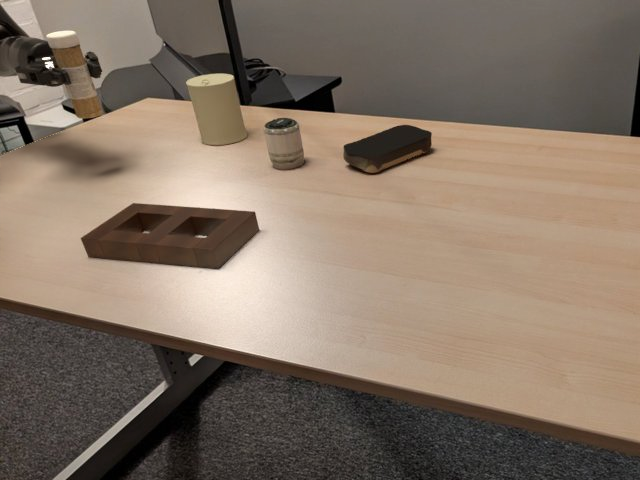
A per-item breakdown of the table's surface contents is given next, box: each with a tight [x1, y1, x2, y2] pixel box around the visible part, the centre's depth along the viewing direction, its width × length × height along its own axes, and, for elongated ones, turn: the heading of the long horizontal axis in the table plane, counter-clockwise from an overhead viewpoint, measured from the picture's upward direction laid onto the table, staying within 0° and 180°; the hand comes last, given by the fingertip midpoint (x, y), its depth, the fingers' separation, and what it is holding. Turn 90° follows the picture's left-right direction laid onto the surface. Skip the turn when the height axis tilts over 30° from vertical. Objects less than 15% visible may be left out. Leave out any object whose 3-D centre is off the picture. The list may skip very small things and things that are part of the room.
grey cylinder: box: [262, 117, 305, 170], centre depth 118 cm, size 6×6×8 cm
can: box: [185, 73, 248, 146], centre depth 130 cm, size 9×9×12 cm
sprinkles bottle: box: [45, 30, 104, 119], centre depth 111 cm, size 5×5×14 cm
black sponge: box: [343, 124, 433, 174], centre depth 119 cm, size 16×8×4 cm, turn 136°
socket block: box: [80, 202, 260, 270], centre depth 95 cm, size 21×12×3 cm, turn 76°
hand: (82, 74), depth 109 cm, fingers closed on sprinkles bottle, 4 cm apart
